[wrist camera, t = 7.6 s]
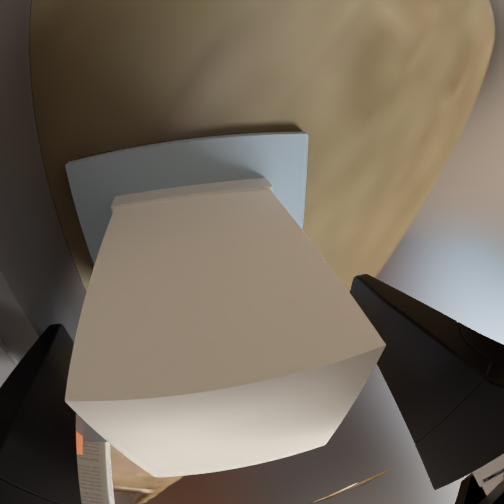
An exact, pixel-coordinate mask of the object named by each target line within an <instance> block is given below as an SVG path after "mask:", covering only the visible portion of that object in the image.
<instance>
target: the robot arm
mask: <svg viewBox="0 0 504 504" xmlns="http://www.w3.org/2000/svg"><path fill="white" fill-rule="evenodd" d="M350 294H351V295H352V297H353V298H354V299H355V301H356V302H357V304H358V305H359V306H360V308H361V309H362V311H363V312H364V314H365V315H366V316H367V318H368V319H369V321H370V322H371V324H372V325H373V326H374V328H375V329H376V331H377V332H378V334H379V335H380V337H381V338H382V339H383V341H384V342H385V344H386V346H385V348H384V350H383V352H382V354H381V356H380V358H379V360H378V362H377V365H378V367H379V369H380V371H381V373H382V375H383V377H384V379H385V381H386V383H387V385H388V387H389V389H390V391H391V393H392V395H393V397H394V399H395V401H396V403H397V405H398V408H399V410H400V412H401V414H402V416H403V418H404V421H405V423H406V425H407V427H408V429H409V431H410V434H411V436H412V438H413V440H414V443H415V445H416V448H417V450H418V452H419V455H420V457H421V459H422V461H423V464H424V466H425V469H426V471H427V473H428V476H429V478H430V481H431V483H432V486H433V488H434V489H435V490H436V489H439V488H441V487H443V486H445V485H448V484H450V483H452V482H454V481H456V480H458V479H460V478H462V477H464V476H466V475H468V474H470V473H471V474H470V475H469V476H467V477H466V478H465V479H464V480H463V481H462V482H461V485H460V489H459V492H458V496H457V499H456V502H455V504H504V345H503V344H500V343H498V342H496V341H494V340H492V339H490V338H488V337H486V336H483V335H481V334H479V333H477V332H476V331H474V330H472V329H470V328H468V327H466V326H464V325H462V324H461V323H459V322H458V323H457V321H455V320H453V319H451V318H450V317H448V316H446V315H444V314H442V313H441V312H439V311H437V310H435V309H433V308H431V307H429V306H428V305H426V304H424V303H422V302H420V301H418V300H416V299H414V298H412V297H410V296H409V295H407V294H405V293H403V292H401V291H399V290H397V289H395V288H393V287H391V286H389V285H387V284H385V283H383V282H382V281H380V280H378V279H376V278H374V277H372V276H370V275H368V274H363V275H358V276H355V277H354V279H353V282H352V286H351V290H350ZM73 346H74V342H73V340H72V338H71V337H70V335H69V333H68V332H67V330H66V328H65V327H64V325H62V324H60V323H59V324H51V325H49V326H48V327H47V329H46V330H45V331H44V332H43V333H42V335H41V336H40V337H39V338H38V339H37V341H36V342H35V343H34V344H33V345H32V347H31V348H30V349H29V350H28V352H27V353H26V354H25V355H24V357H23V358H22V359H21V360H20V362H19V363H18V364H17V366H16V367H15V368H14V370H13V371H12V372H11V374H10V375H9V376H8V378H7V379H6V380H5V382H4V383H3V384H2V386H1V387H0V504H82V502H81V494H80V486H79V476H78V464H77V447H76V412H75V411H74V410H73V409H72V408H71V407H70V406H69V405H68V404H67V403H66V402H65V394H66V387H67V380H68V374H69V368H70V362H71V357H72V351H73Z"/></svg>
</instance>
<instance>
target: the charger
mask: <svg viewBox="0 0 504 504" xmlns="http://www.w3.org/2000/svg"><path fill="white" fill-rule="evenodd" d="M111 210H112V217H111V219H110V222H109V225H108V227H107V230H106V233H105V235H104V238H103V241H102V244H101V247H100V250H99V253H98V256H97V259H96V262H95V265H94V268H93V272H92V275H91V278H90V282H89V285H88V288H87V292H86V296H85V299H84V303H83V307H82V311H81V315H80V319H79V323H78V328H77V332H76V337H75V341H74V346H73V351H72V357H71V362H70V368H69V374H68V380H67V387H66V394H65V402H66V403H67V404H68V405H69V406H70V407H71V408H72V409H73V410H74V411H75V412H76V413H77V414H78V415H79V416H80V417H81V418H82V419H83V420H84V421H85V422H86V423H87V424H88V425H89V426H91V427H92V428H93V429H94V430H95V431H96V432H97V433H98V434H99V435H101V436H102V437H103V438H104V439H105V440H106V441H108V442H109V443H110V444H111V445H112V446H114V447H115V448H116V449H117V450H118V451H120V452H121V453H122V454H124V455H125V456H126V457H127V458H129V459H130V460H131V461H133V462H134V463H135V464H137V465H138V466H139V467H141V468H142V469H144V470H145V471H147V472H148V473H149V474H151V475H152V476H154V477H172V476H184V475H194V474H202V473H210V472H217V471H223V470H229V469H235V468H241V467H246V466H250V465H256V464H260V463H264V462H268V461H272V460H277V459H281V458H284V457H288V456H292V455H295V454H298V453H302V452H305V451H308V450H311V449H315V448H318V447H321V446H323V445H326V443H327V442H328V441H329V439H330V438H331V436H332V435H333V434H334V432H335V431H336V429H337V428H338V426H339V425H340V423H341V422H342V420H343V419H344V417H345V416H346V414H347V413H348V411H349V409H350V408H351V406H352V405H353V403H354V402H355V400H356V398H357V397H358V395H359V393H360V392H361V390H362V388H363V387H364V385H365V383H366V382H367V380H368V378H369V376H370V374H371V373H372V371H373V369H374V367H375V365H376V364H377V362H378V360H379V358H380V356H381V354H382V352H383V350H384V348H385V346H386V344H385V342H384V341H383V339H382V338H381V337H380V335H379V334H378V332H377V331H376V329H375V328H374V326H373V325H372V324H371V322H370V321H369V319H368V318H367V316H366V315H365V314H364V312H363V311H362V309H361V308H360V306H359V305H358V304H357V302H356V301H355V299H354V298H353V297H352V295H351V294H350V293H349V291H348V290H347V288H346V287H345V286H344V284H343V283H342V282H341V280H340V279H339V278H338V276H337V275H336V273H335V272H334V271H333V269H332V268H331V267H330V265H329V264H328V263H327V261H326V260H325V259H324V257H323V256H322V255H321V254H320V252H319V251H318V250H317V248H316V247H315V246H314V244H313V243H312V242H311V241H310V239H309V238H308V237H307V235H306V234H305V233H304V231H303V230H302V229H301V228H300V226H299V225H298V224H297V223H296V221H295V220H294V219H293V218H292V216H291V215H290V214H289V213H288V211H287V210H286V209H285V208H284V206H283V205H282V204H281V203H280V201H279V200H278V199H277V198H276V196H275V195H274V194H273V186H272V185H271V183H270V182H269V181H268V180H267V179H266V178H257V179H245V180H234V181H224V182H214V183H205V184H197V185H188V186H180V187H173V188H166V189H159V190H152V191H145V192H139V193H132V194H126V195H120V196H115V198H114V200H113V203H112V205H111Z"/></svg>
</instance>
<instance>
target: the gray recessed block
mask: <svg viewBox="0 0 504 504" xmlns="http://www.w3.org/2000/svg"><path fill="white" fill-rule="evenodd" d="M30 10H31V0H0V387H1V386H2V384H3V383H4V382H5V380H6V379H7V378H8V376H9V375H10V374H11V372H12V371H13V370H14V368H15V367H16V366H17V364H18V363H19V362H20V360H21V359H22V358H23V357H24V355H25V354H26V353H27V352H28V350H29V349H30V348H31V347H32V345H33V344H34V343H35V342H36V341H37V339H38V338H39V337H40V336H41V335H42V333H43V332H44V331H45V330H46V329H47V327H48V326H49V325H51V324H59V323H60V324H62V325H64V327H65V328H66V330H67V332H68V333H69V335H70V337H71V338H72V340H73V342H74V341H75V337H76V332H77V328H78V323H79V319H80V315H81V311H82V307H83V303H84V299H85V296H86V290H85V288H84V285H83V283H82V281H81V278H80V276H79V274H78V271H77V269H76V266H75V264H74V261H73V259H72V256H71V253H70V251H69V248H68V245H67V242H66V240H65V237H64V234H63V231H62V228H61V225H60V222H59V219H58V216H57V212H56V209H55V206H54V202H53V199H52V195H51V192H50V188H49V184H48V180H47V176H46V172H45V168H44V163H43V159H42V154H41V149H40V144H39V139H38V133H37V127H36V121H35V114H34V106H33V97H32V87H31V75H30V51H29V33H30ZM83 442H108V441H106V440H105V439H104V438H103V437H102V436H101V435H99V434H98V433H97V432H96V431H95V430H94V429H93V428H92V427H91V426H89V425H88V424H87V423H86V422H85V421H84V420H83V419H82V418H81V417H80V416H79V415H78V414H77V413H76V447H77V454H81V455H83Z"/></svg>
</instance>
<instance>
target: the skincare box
mask: <svg viewBox="0 0 504 504" xmlns="http://www.w3.org/2000/svg"><path fill="white" fill-rule="evenodd" d="M77 464H78V476H79V486H80V494H81V502H82V504H115V501H114V493H113V483H112V472H111V457H110V443H109V442H83V455H81V454H77Z"/></svg>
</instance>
